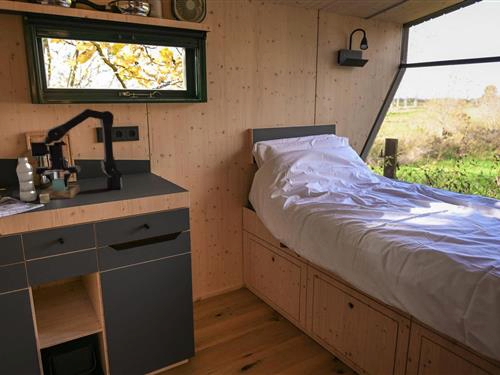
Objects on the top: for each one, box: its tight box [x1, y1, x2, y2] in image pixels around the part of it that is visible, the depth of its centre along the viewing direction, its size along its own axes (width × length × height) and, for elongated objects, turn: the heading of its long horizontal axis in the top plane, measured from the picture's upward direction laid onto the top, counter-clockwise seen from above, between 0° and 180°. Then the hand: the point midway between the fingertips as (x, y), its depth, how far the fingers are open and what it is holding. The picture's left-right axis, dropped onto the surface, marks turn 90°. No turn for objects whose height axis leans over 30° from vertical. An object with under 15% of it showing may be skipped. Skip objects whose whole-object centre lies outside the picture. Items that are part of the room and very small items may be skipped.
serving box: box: [40, 184, 81, 200], centre depth 179 cm, size 13×13×4 cm
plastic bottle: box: [16, 156, 37, 203], centre depth 167 cm, size 6×7×20 cm
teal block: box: [51, 177, 69, 191], centre depth 178 cm, size 5×5×5 cm
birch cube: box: [39, 193, 51, 204], centre depth 167 cm, size 4×4×4 cm
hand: (60, 187), depth 179 cm, fingers closed on teal block, 5 cm apart
